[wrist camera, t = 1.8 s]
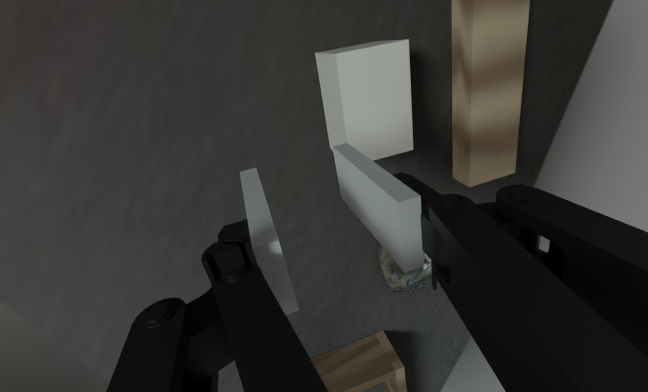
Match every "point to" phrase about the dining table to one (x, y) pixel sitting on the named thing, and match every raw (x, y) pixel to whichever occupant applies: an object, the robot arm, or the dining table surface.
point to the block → (368, 97)
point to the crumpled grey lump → (398, 278)
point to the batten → (487, 86)
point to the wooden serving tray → (362, 366)
